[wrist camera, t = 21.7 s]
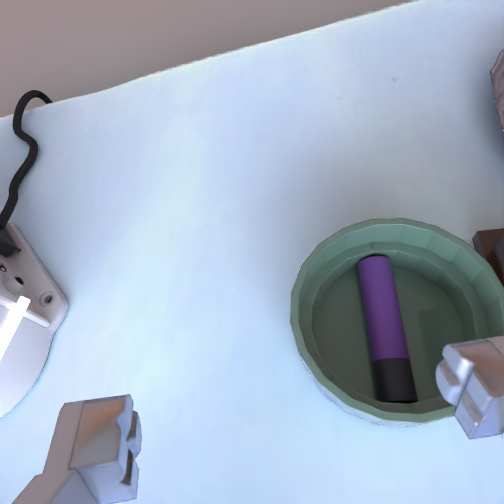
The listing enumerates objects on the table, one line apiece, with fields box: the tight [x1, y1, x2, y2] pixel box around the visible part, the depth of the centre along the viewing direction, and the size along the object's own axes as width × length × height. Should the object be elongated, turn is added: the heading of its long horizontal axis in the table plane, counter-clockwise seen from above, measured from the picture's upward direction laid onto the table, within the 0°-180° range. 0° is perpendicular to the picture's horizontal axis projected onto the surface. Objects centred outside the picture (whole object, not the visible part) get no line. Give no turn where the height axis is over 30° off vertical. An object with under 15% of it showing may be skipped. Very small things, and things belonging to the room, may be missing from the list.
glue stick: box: [357, 256, 418, 404], centre depth 32 cm, size 12×3×3 cm, turn 1°
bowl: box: [290, 218, 504, 427], centre depth 31 cm, size 15×15×6 cm
